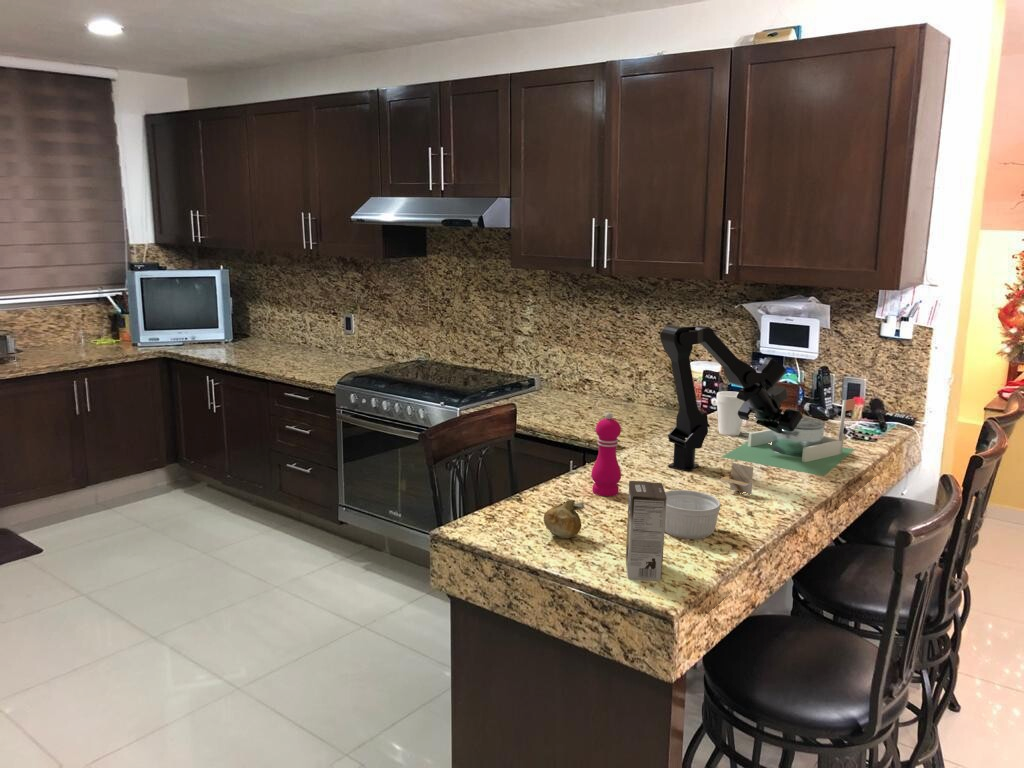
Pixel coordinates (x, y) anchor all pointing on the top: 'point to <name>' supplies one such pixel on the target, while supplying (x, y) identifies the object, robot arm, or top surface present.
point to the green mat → (786, 459)
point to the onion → (564, 519)
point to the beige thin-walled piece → (815, 451)
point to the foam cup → (729, 413)
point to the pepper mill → (606, 458)
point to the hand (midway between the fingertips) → (780, 432)
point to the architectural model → (740, 478)
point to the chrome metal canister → (799, 437)
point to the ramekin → (690, 514)
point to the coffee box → (645, 530)
